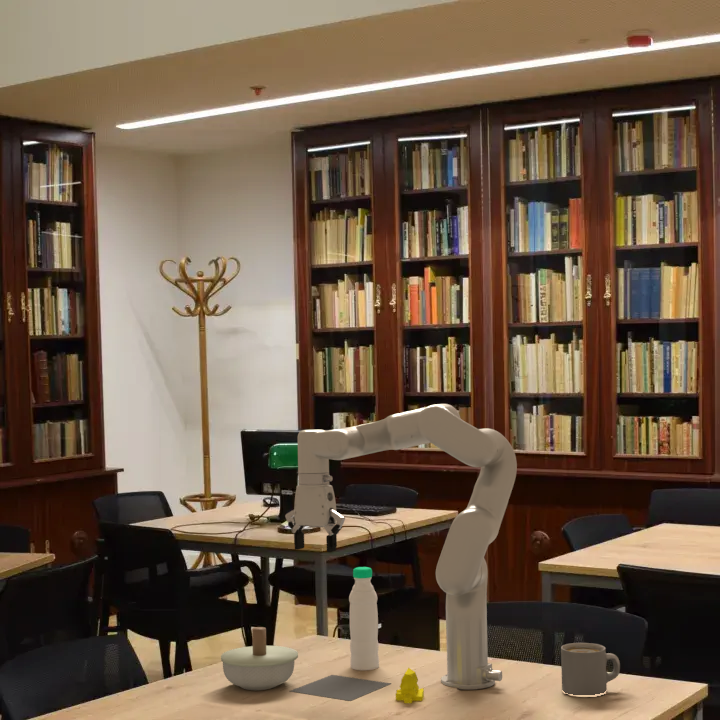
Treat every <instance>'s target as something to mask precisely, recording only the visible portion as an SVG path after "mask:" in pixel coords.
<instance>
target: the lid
mask: <svg viewBox="0 0 720 720" xmlns="http://www.w3.org/2000/svg"><path fill="white" fill-rule="evenodd" d="M251 629H252V630H251V633H252V634H251V636H252V638H251V639H252V645H251V646H243V647H236V648H233V649H229V650H226V651H224V652H223V653H221V655H220V660H221V661H220V662H222V664H223V663H225V664H228V665H233V666H240V667H265V666H275V665H281V664H285V663H289V662H292V661H294V662H295V661H296V660H297V659H298V658H299V652H298V651H297V650H296V649H294V648H291V647H288V646H281V645H267V628H266V627H264V626H257V627H253V628H251Z"/></svg>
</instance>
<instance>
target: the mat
mask: <svg viewBox="0 0 720 720" xmlns="http://www.w3.org/2000/svg"><path fill="white" fill-rule="evenodd" d="M390 685H392V683H390V682H384V681H377V680H371V679H363V678H357V677H351V676H343V675H337V674H331V675H328V676H325V677H323V678H320V679H316V680H314V681H313V682H309V683H308V684H305V685H302V686H299V687H296V688H293V689H291V690H289V693H291V692H292V693H296V694H297V693H298V694H302V695H304V694H305V695H308V696H309V695H311V696H316V697H321V698H323V697H324V698H329V699H334V700H342V701H347V702H351V701H354V700H356V699H359V698H362V697H364V696H366V695H368V694H371V693H373V692H376V691H378V690H380V689H383V688H385V687H387V686H390Z"/></svg>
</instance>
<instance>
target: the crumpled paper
mask: <svg viewBox="0 0 720 720" xmlns="http://www.w3.org/2000/svg"><path fill="white" fill-rule="evenodd" d="M418 681H419V678H418V674H417V673H416V671H414V670H413V669H411V668H410V667H408V668H407V669H406V671H405V672H404V675H402V678H401V681H400V685H399V689H397V690H396V691H395V701H403V703H404V704H412V703H413V702H419V701H420V702H422V701H423V700H424V697H425V694H424V693H425V692H424V691H425V690H424V688H420V687H419V684H418Z"/></svg>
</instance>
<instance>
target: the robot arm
mask: <svg viewBox="0 0 720 720" xmlns="http://www.w3.org/2000/svg"><path fill="white" fill-rule="evenodd" d="M458 411H459V410H457V408H455V407H454V406H452V405H451V404H448V403H437V404H431V405H428V406H426V407H420V408H417V409H413V410H407V411H401V412H400V413H399V412H397V413H394V414H390V415H388V416H386V417H385V418H384V419H381V420H377V421H373V422H369V423H363V424H359V425H355V426H350V427H348V426H347V427H342V428H335V429H329V430H324V429H302V430H301V431H299V432H298V434H297V468H298V471H297V472H298V477H297V478H298V485H296V488H295V489H296V490H295V493H294V494H295V495H294V496H295V497H294V507H293V508H294V509H293V510H291V511H289V512H287V513H286V514H285V519H286V522H287V525H288V527H289V528H290V530H291V533H293V544H294V550H295V551H296V550H297V551H298V550H302V549H304V548H305V532H304V531H303V530H304V528H305V527H310V528H324V530H325V531H326V533H327V534H328V535H326V552H327V553H332V552H336V551H337V546H338V545H337V544H338V543H337V542H338V541H337V540H338V539H337V537H338V536H337V535H339V534H340V531H341V530H342V528H343V525H344V522H345V520H346V517H345V516H344V515H342V514H341V513H339V512H337V504H336V503H337V502H336V497H335V491H334V487H333V485H331V484H330V482H332V481H333V476H332V475H330V461H329V460H334V461H342V460H348V459H351V458H353V459H354V458H357V457H361V456H365V455H369V454H370V455H371V454H375V453H379V452H383V451H389V450H394V451H399V450H403V449H408V448H413V447H417V446H421V445H426V444H432V445H434V446H435V447H436V448H438V449H440V450H442V451H443V452H445V453H446V454H448V455H450V456H451V457H453V458H455V459H456V460H458V461H459V462H461V463H463V464H465V465H467V466H469V467H473V468H480V471H479V474H478V477H477V480H476V482H475V484H474V486H473V490H472V493H471V496H470V499H469V502H468V504H467V507H466V508H465V509H464V510H463V511H461V512H460V513H458V514H457V515H456V516H455V518H454V519H453V521H452V523H451V524H450V527H449V528H448V532H447V536H446V538H445V541H444V544H443V547H442V548H441V549H442V550H441V553H440V556H439V558H438V561H437V564H436V567H435V568H436V569H435V580H436V582H437V584H438V586H439V588H440V589H441V590H442V591H443V592H444V593H445V594H446V595H445V627H446V628H445V630H446V635H445V636H446V671H447V674H445V675H442V676H441V678H440V684H442V685H445V686H447V687H449V688H456V689H457V690H464V691H465V690H471V691H472V690H482V689H487V688H490V687H492V686H494V685H495V684H496V682H502V680H503V671H502V670H495V669H493V664H492V663H489V659H488V656H489V655H488V620H487V617H488V616H487V615H488V614H487V613H488V611H487V610H488V609H487V605H488V604H487V598H488V597H487V593H488V592H487V590H488V579H489V578H488V575H489V573H488V572H489V571H488V565H487V561H486V559H485V555H486V553H487V550H488V548H489V545H491V543H493V542H494V541H495V539H497V536H498V534H499V532H500V531H499V530H500V528H501V524H502V522H503V519H504V516H505V513H506V509H507V507H508V504H509V499H510V497H511V494H512V492H513V491H512V490H513V488H514V486H515V485H514V484H515V482H516V477H517V473H518V472H517V470H518V469H517V467H518V463H517V456H516V453H515V449H514V448H513V446H512V444H511V443H510V442H509V440H508V439H507V438H506V437H505V436H504V435H503V434H502V433H501V432H499V431H497V430H495V429H493V428H488V427H487V428H477V427H475V426H473V425H472V424H470V423H468V422H466V421H464V419H461V416H460V413H459V412H458Z"/></svg>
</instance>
